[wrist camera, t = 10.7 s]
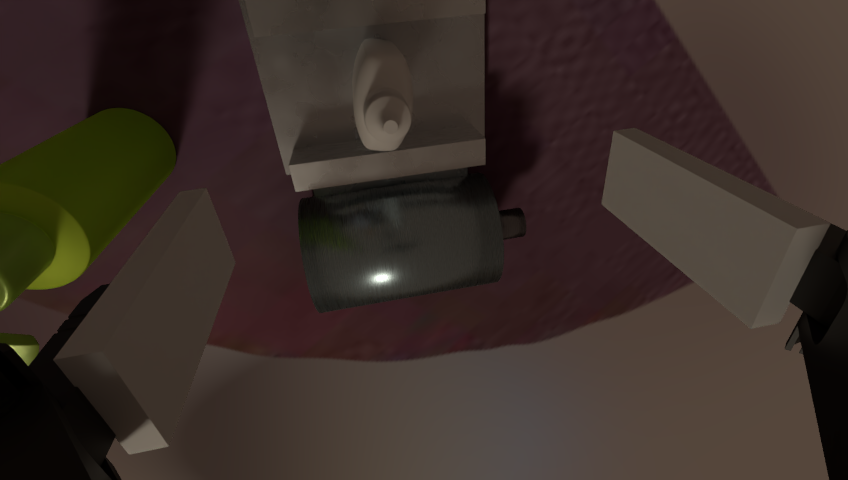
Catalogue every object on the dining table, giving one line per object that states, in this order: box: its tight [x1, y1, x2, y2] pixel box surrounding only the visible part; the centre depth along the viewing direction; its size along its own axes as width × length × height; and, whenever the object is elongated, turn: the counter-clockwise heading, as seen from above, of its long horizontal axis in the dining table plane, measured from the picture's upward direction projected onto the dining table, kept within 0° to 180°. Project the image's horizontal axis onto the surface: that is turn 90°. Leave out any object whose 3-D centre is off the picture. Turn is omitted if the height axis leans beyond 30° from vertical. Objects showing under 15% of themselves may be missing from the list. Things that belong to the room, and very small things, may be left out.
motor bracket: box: [239, 0, 526, 313], centre depth 30 cm, size 22×18×9 cm
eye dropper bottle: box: [352, 38, 413, 151], centre depth 25 cm, size 4×6×12 cm
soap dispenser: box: [0, 108, 176, 366], centre depth 22 cm, size 6×7×20 cm
